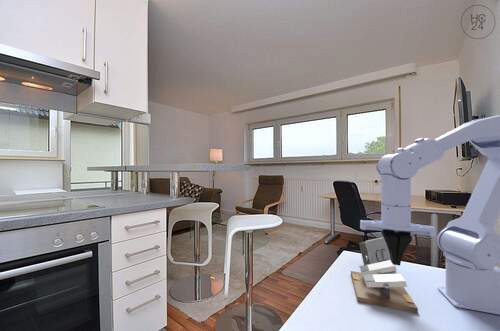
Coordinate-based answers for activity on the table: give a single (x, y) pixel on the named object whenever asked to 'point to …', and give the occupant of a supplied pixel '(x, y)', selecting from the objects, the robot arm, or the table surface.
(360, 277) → the switch board
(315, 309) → the table surface
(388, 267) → the rear rocker
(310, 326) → the table surface
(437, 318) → the table surface
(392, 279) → the block
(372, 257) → the electrical switch
